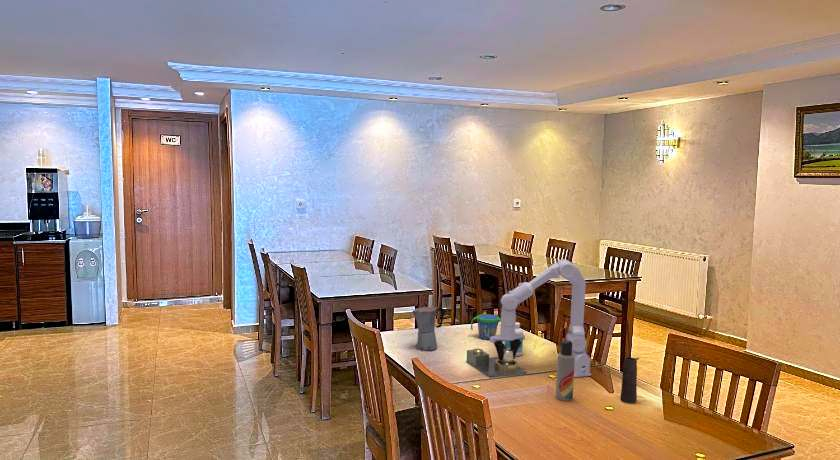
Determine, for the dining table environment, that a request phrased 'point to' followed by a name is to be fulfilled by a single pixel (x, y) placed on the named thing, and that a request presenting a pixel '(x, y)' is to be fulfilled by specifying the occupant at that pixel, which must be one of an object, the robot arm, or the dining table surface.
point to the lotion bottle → (565, 372)
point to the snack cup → (487, 325)
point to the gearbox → (492, 364)
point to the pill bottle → (520, 331)
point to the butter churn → (629, 377)
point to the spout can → (507, 356)
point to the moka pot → (427, 326)
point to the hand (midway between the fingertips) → (506, 359)
